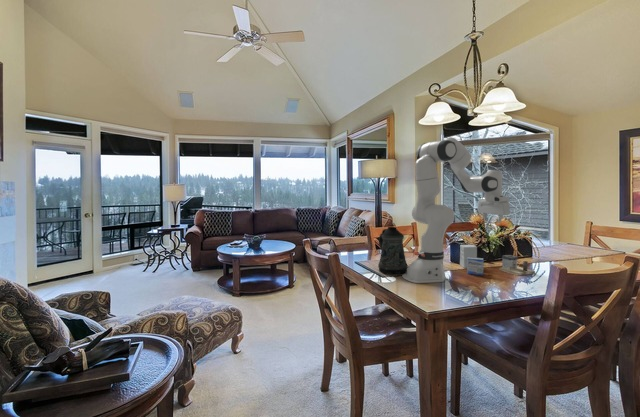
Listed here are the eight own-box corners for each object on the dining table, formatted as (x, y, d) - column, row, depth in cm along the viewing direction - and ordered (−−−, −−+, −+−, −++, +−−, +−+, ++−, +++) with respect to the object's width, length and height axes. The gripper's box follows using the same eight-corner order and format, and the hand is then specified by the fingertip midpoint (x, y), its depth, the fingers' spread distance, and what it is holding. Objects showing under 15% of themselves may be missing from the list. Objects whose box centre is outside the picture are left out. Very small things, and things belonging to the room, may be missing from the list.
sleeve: (509, 270, 180) (510, 257, 179) (501, 267, 185) (502, 255, 184) (517, 269, 181) (517, 256, 181) (509, 266, 187) (509, 254, 186)
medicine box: (466, 273, 178) (467, 258, 178) (467, 271, 182) (467, 256, 182) (483, 275, 175) (483, 259, 174) (483, 273, 179) (483, 258, 178)
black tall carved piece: (400, 276, 175) (400, 230, 173) (368, 271, 187) (368, 228, 185) (412, 269, 188) (412, 227, 186) (381, 265, 200) (381, 224, 198)
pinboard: (518, 275, 174) (518, 264, 173) (499, 269, 185) (499, 259, 184) (534, 273, 177) (535, 262, 177) (515, 267, 189) (516, 257, 188)
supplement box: (472, 265, 196) (472, 244, 195) (476, 268, 189) (477, 246, 188) (459, 265, 197) (459, 244, 196) (463, 268, 190) (464, 246, 189)
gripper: (475, 197, 198) (474, 219, 199) (503, 198, 179) (502, 223, 180) (483, 197, 200) (482, 219, 201) (512, 198, 180) (511, 223, 181)
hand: (492, 221), depth 190 cm, fingers open, 8 cm apart
